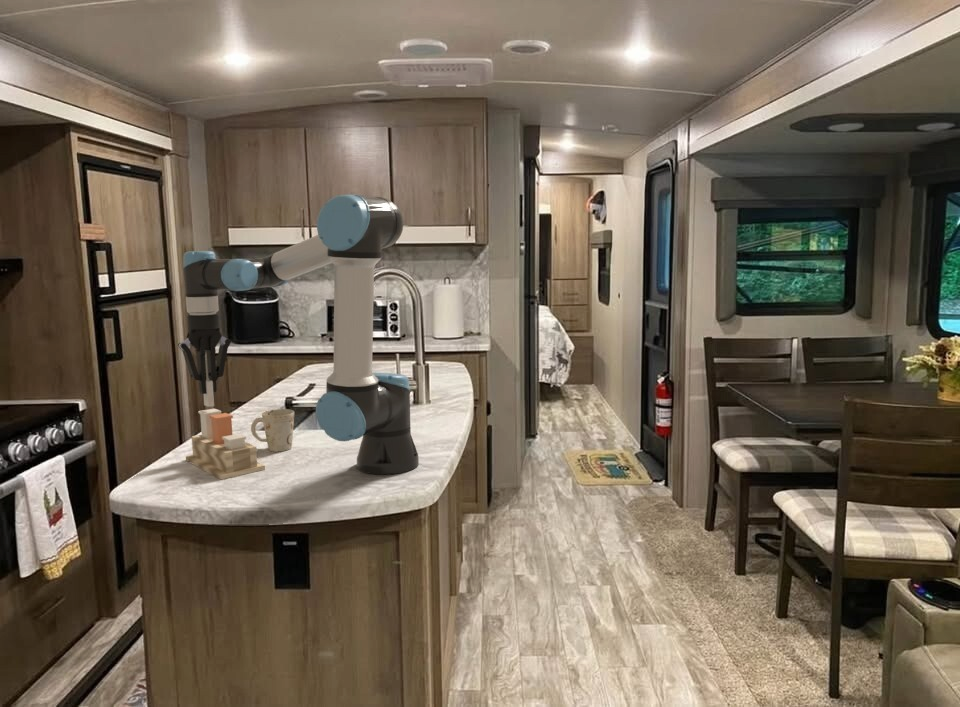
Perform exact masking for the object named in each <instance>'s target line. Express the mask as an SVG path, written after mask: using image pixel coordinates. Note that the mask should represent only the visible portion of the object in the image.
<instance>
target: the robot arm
mask: <svg viewBox="0 0 960 707" xmlns="http://www.w3.org/2000/svg"><path fill="white" fill-rule="evenodd" d="M403 229H404V218H403V215H402V211H401V210H400V209H399V207H398V206H397V205H396V204H395V203H394V202H392V201H391V199H387V198H385V197H381V196H368V195H367V196H366V195H360V194H353V193H351V194H341V195H336V196H334V197H331V198H330V199H329V200H328V201H327V202H326V203H325V204H324V205H323V206H322V207H321V209H320V211H319V212H318V216H317V221H316V230H317V234H316V235H314V236H312V237H309V238H307V239H305V240H302V241H300V242H297V243H295V244H293V245H290V246H288V247H286V248H283V249H281V250H278V251H276V252H274V253H272V254H269V255H266V256H264V257H258V258H257V257H255V258H254V257H253V258H222V259H221V258H220V259H219V258H216V253H215V252H214V251H210V250H194V251H193V250H192V251H191V250H190V251H186V252H184V254H183V260H182V262H183V263H182V264H183V267H182V271H183V276H184V278H183V279H184V288H185V289H184V291H185V303H186V304H185V305H186V312H187V313H188V314H187V315H186V320H187V322H186V323H187V331H188V332H187V335H186V339H185V340H183V341H182V342H179V343H178V344H177V346H178V348H179V349H180V351H181V352H182V354H183V358H184V360H185V364H186V367H187V370H188V373H189V376H190V377H191V378H190V379H192V380H194V381H195V380H196V381H198V385H199V387H198V388H199V393H200V394H202V395H203V406H205V407H207V408H210V407H215V400H214V398H215V396H214V393H216V392H217V381H218V379H219V378H221V377H222V378H223V376H224V373H225V372H224V371H225V366H226V361H227V354H228V349H229V347H230V345H231V344H232V340H231V339H230V338H227V337H225V336H223V333H222V331H221V330H220V329H221V328H220V326H221V323H220V314H219V313H217V312H219V311H220V309H219V308H220V307H219V296H218V295H219V292H218V290H219V291H234V292H240V291H242V292H244V291H249V290H252V289H259V288H277V287H282V286H284V285H286V284H288V283H289V281H290V280H292V279H294V278H297V277H299V276H302V275H305V274H306V273H310V272H312V271H315V270H318V269H320V268H322V267H325V266H327V265H330V264H333V265H334V268H333V270H334V274H333V275H334V276H333V280H334V283H333V284H334V285H333V286H334V287H333V288H334V289H333V290H334V291H333V296H334V297H333V298H334V299H333V301H334V302H333V303H334V304H333V307H334V308H333V311H334V312H333V371H332V373H331V374H330V375H328V377H327V378H326V386H325V387H326V388H325V390H326V391H325V393H323V394H322V395H321V397H320V398H319V399H318V400H317V403H316V406H315V416H316V420H317V423H318V425H319V427H320V429H322V430H323V431H324V432H325V434H326V435H327V436H328V437H329V438H331V439H332V440H335V441H338V442H350V441H352V440H353V441H355V440H357V439H358V440H359V439H360V438H361V437H362V438H361V442H360V446H359V450H358V453H357V456H356V468H357V469H358V470H359V471H360V472H363V473H367V474H373V475H392V474H393V475H394V474H400V473H401V474H402V473H405V472H409V471H412V470H414V469H415V468H417V467H419V463H420V462H419V453H418V450H417V447H416V445H415V442H414V439H413V437H412V432H411V398H410V395H411V388H410V380H409V378H408V376H406V375H405V374H401V373H392V372H391V373H390V372H373V347H374V346H373V344H374V343H373V342H374V341H373V338H374V337H373V334H374V297H375V295H374V291H375V289H374V286H375V284H374V283H375V282H374V281H375V266H376V265H377V264H378V263H379V262H380V261H381V260H382V250H383V249H386V248H388V247H391V246H393V245H395V243H396V242H398V240H399V239H400V237H401V236H402V233H403V231H404V230H403ZM217 345H219V346H218V352H217V358H216V347H217ZM191 346H192V347H193V348H194V349H195V350H194V352H195V356H196V363H195V359H194V357H193V353H192V351H191V349H190V348H191ZM207 377H208V379H207Z"/></svg>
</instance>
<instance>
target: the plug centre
mask: <svg viewBox="0 0 960 707" xmlns="http://www.w3.org/2000/svg"><path fill="white" fill-rule="evenodd" d="M209 417H210V418H211V422H212V436H213V443H215V444H217V445H220V444H224V440H223V439H222V437H224V436H229V435H233V423H232V422H233V421H232V419H234V415H232V414H231V413H227V412H224V413H222V412H221V414H216V415H210V416H209Z"/></svg>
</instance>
